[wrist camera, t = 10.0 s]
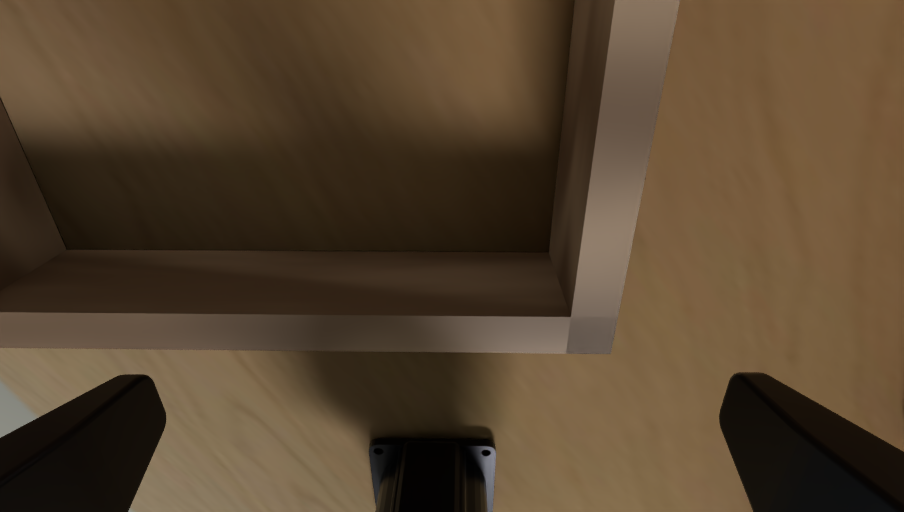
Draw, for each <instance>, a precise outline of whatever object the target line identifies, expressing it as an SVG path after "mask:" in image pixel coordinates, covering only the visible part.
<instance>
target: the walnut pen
mask: <svg viewBox="0 0 904 512" xmlns="http://www.w3.org/2000/svg"><path fill="white" fill-rule="evenodd" d="M679 2H680V0H575V4H574V14H573V23H572V33H571V43H570V52H569V62H568V72H567V81H566V91H565V101H564V110H563V120H562V130H561V139H560V149H559V159H558V168H557V178H556V187H555V197H554V207H553V216H552V226H551V236H550V245H549V252H390V251H208V250H66V247H65V245H64V243H63V240H62V238H61V236H60V234H59V231H58V229H57V227H56V225H55V222H54V220H53V218H52V215H51V213H50V211H49V209H48V206H47V204H46V202H45V200H44V197H43V195H42V193H41V190H40V188H39V186H38V184H37V181H36V179H35V177H34V175H33V172H32V170H31V168H30V165H29V163H28V161H27V159H26V156H25V154H24V152H23V150H22V147H21V145H20V143H19V140H18V138H17V136H16V134H15V131H14V129H13V127H12V125H11V122H10V120H9V118H8V115H7V113H6V111H5V109H4V106H3V104H2V102H1V100H0V348H72V349H171V350H270V351H369V352H468V353H567V354H611V349H612V344H613V339H614V334H615V329H616V324H617V319H618V314H619V308H620V303H621V298H622V293H623V288H624V283H625V278H626V273H627V268H628V263H629V257H630V252H631V247H632V242H633V237H634V232H635V227H636V222H637V217H638V212H639V206H640V201H641V196H642V191H643V186H644V181H645V176H646V171H647V166H648V161H649V155H650V150H651V145H652V140H653V135H654V130H655V125H656V120H657V115H658V110H659V104H660V99H661V94H662V89H663V84H664V79H665V74H666V69H667V64H668V58H669V53H670V48H671V43H672V38H673V33H674V28H675V23H676V18H677V13H678V7H679Z"/></svg>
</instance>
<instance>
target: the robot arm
mask: <svg viewBox="0 0 904 512" xmlns="http://www.w3.org/2000/svg"><path fill="white" fill-rule="evenodd" d="M719 421H720V427H721V430H722V433H723V435H724V438H725V440H726V443H727V445H728V448H729V450H730V453H731V456H732V458H733V461H734V463H735V466H736V468H737V471H738V474H739V476H740V479H741V481H742V484H743V486H744V489H745V492H746V494H747V497H748V499H749V502H750V504H751V507H752V510H753V512H904V452H903V451H901V450H900V449H898V448H896V447H894V446H892V445H891V444H889V443H887V442H885V441H884V440H882V439H880V438H878V437H877V436H875V435H873V434H871V433H870V432H868V431H866V430H864V429H862V428H861V427H859V426H857V425H855V424H854V423H852V422H850V421H848V420H847V419H845V418H843V417H841V416H839V415H838V414H836V413H834V412H832V411H831V410H829V409H827V408H825V407H824V406H822V405H820V404H818V403H817V402H815V401H813V400H811V399H809V398H808V397H806V396H804V395H802V394H801V393H799V392H797V391H795V390H794V389H792V388H790V387H788V386H787V385H785V384H783V383H781V382H779V381H778V380H776V379H774V378H772V377H771V376H769V375H767V374H764V373H759V372H739V373H736V374H734V375H733V376H732V377H731V378H730V381H729V384H728V387H727V390H726V393H725V396H724V400H723V403H722V406H721V409H720V414H719ZM165 424H166V412H165V409H164V407H163V404H162V402H161V399H160V397H159V394H158V391H157V389H156V386H155V384H154V382H153V380H152V379H151V378H150V377H149V376H147V375H143V374H135V375H120V376H117V377H115V378H113V379H111V380H109V381H107V382H105V383H103V384H101V385H99V386H98V387H96V388H94V389H92V390H90V391H88V392H86V393H84V394H82V395H81V396H79V397H77V398H75V399H73V400H71V401H69V402H67V403H65V404H63V405H62V406H60V407H58V408H56V409H54V410H52V411H50V412H48V413H46V414H45V415H43V416H41V417H39V418H37V419H35V420H33V421H32V422H29V423H28V424H26V425H24V426H22V427H20V428H18V429H16V430H14V431H13V432H11V433H9V434H7V435H5V436H3V437H1V438H0V512H128V510H129V508H130V506H131V504H132V501H133V499H134V497H135V495H136V492H137V490H138V488H139V486H140V483H141V481H142V479H143V476H144V474H145V472H146V470H147V467H148V465H149V463H150V461H151V458H152V456H153V454H154V451H155V449H156V447H157V445H158V442H159V440H160V438H161V436H162V433H163V431H164V428H165ZM369 456H370V464H371V472H372V480H373V487H374V495H375V503H376V511H375V512H493V496H494V478H495V460H496V448H495V444H494V443H493V442H492V441H490V440H467V439H396V438H377V439H374V440H372V441H371V443H370V448H369Z"/></svg>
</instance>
